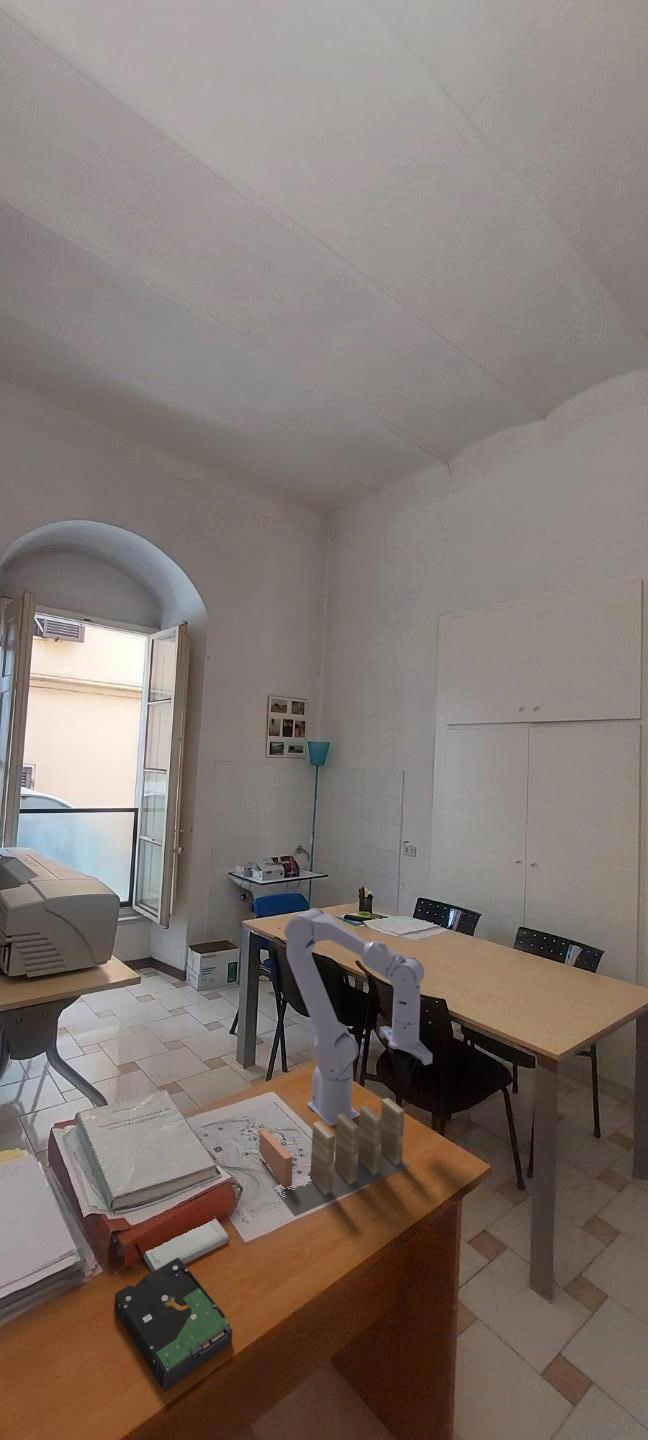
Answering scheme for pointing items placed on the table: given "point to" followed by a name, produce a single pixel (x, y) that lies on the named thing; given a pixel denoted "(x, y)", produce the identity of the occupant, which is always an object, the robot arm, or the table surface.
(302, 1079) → the table surface
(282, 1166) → the domino
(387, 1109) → the domino
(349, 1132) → the domino
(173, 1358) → the disk drive
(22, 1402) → the table surface
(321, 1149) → the domino
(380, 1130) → the domino
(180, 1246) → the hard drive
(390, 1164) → the grey flat rectangular board
